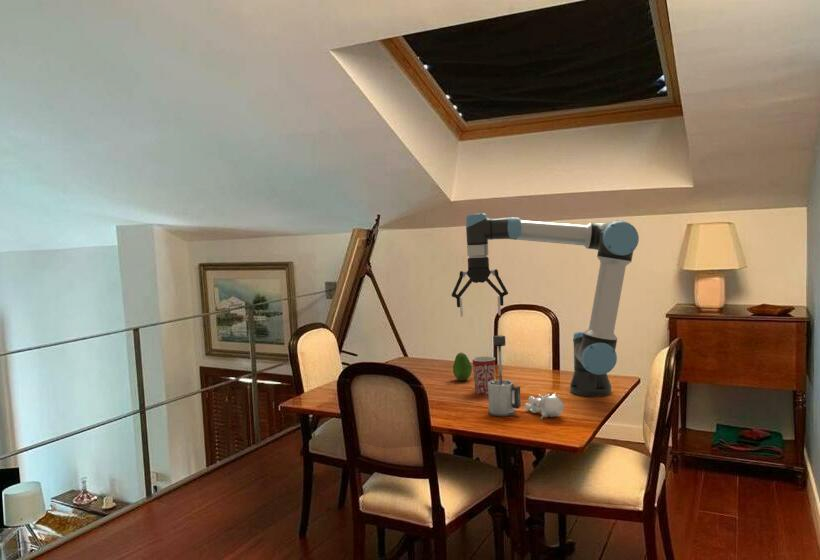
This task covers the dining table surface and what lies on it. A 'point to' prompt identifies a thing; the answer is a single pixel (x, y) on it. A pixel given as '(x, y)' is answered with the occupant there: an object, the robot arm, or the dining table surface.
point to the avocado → (462, 367)
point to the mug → (483, 373)
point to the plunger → (499, 342)
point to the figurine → (545, 405)
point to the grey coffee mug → (503, 398)
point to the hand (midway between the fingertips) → (480, 315)
